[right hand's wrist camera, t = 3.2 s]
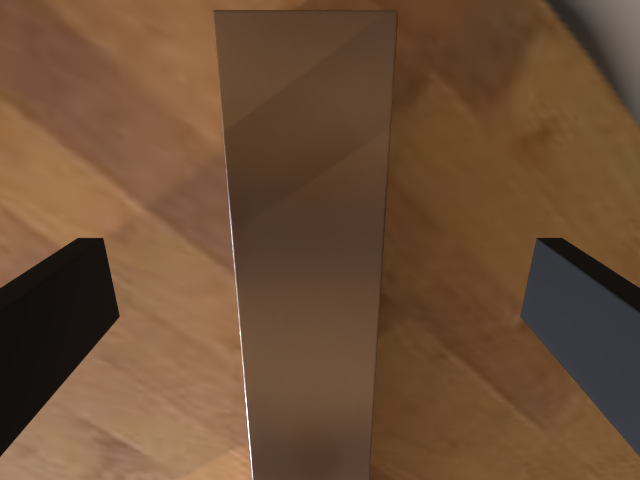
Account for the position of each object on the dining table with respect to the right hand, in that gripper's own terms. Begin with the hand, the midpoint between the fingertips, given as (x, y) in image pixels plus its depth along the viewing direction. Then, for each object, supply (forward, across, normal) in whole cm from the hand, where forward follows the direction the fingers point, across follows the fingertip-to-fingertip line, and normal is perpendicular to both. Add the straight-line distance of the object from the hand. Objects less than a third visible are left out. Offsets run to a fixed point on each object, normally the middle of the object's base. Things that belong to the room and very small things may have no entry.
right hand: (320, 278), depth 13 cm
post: (+10, 0, -29) cm, 30 cm away
